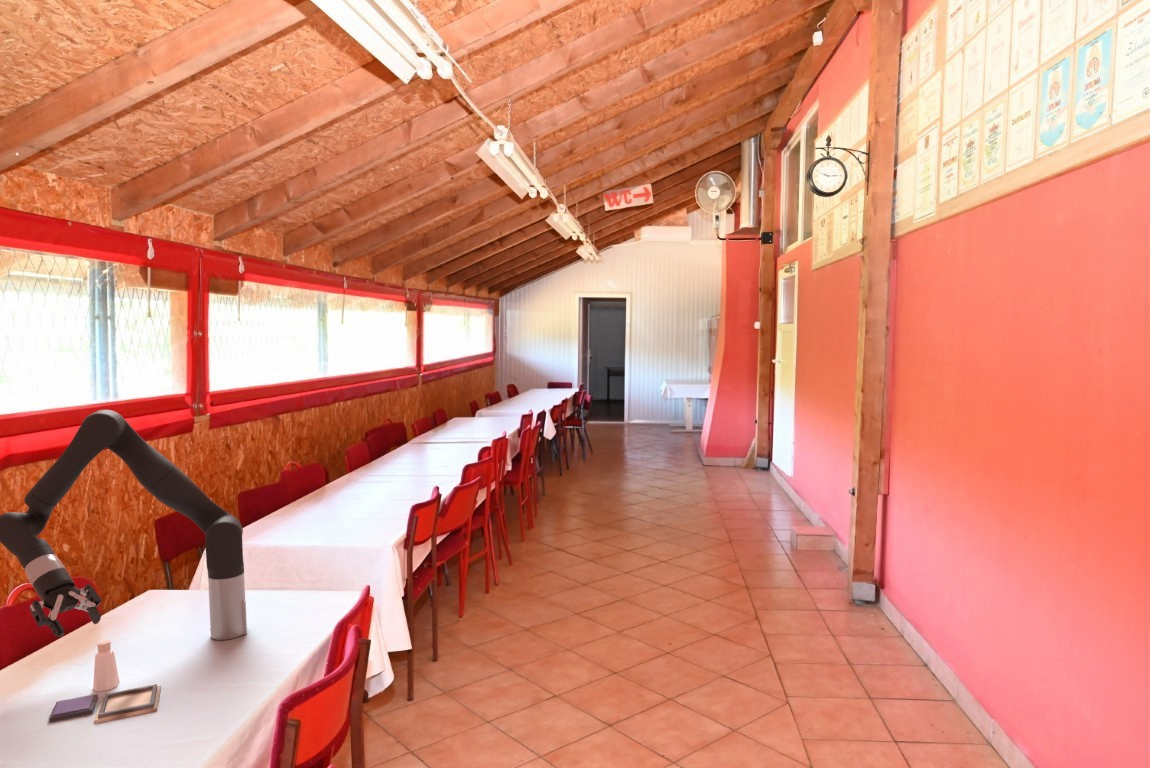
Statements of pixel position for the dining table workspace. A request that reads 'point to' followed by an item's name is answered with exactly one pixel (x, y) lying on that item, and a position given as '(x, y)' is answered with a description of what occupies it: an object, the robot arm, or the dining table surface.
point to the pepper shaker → (105, 668)
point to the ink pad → (73, 708)
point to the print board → (128, 703)
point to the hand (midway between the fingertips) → (80, 628)
